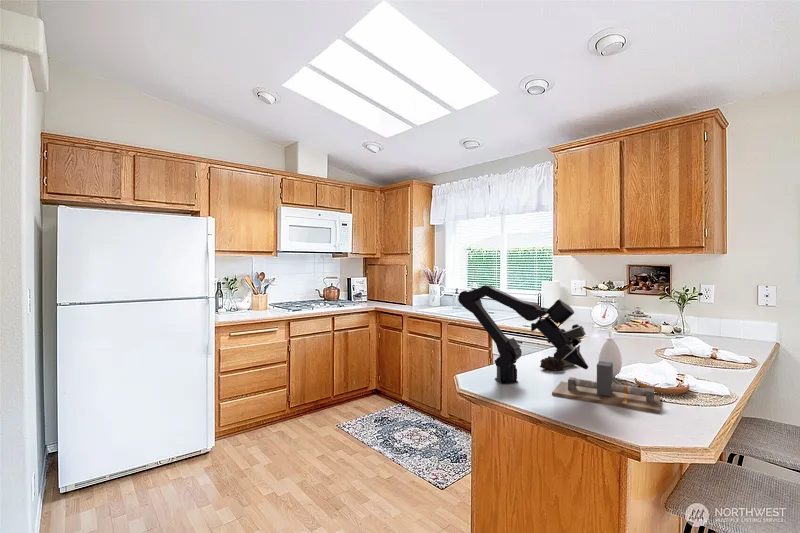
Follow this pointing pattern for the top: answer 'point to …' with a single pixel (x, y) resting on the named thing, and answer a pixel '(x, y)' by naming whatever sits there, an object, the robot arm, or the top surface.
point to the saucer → (664, 390)
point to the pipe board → (619, 397)
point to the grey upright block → (604, 378)
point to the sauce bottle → (611, 354)
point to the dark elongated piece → (554, 364)
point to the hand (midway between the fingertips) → (587, 368)
